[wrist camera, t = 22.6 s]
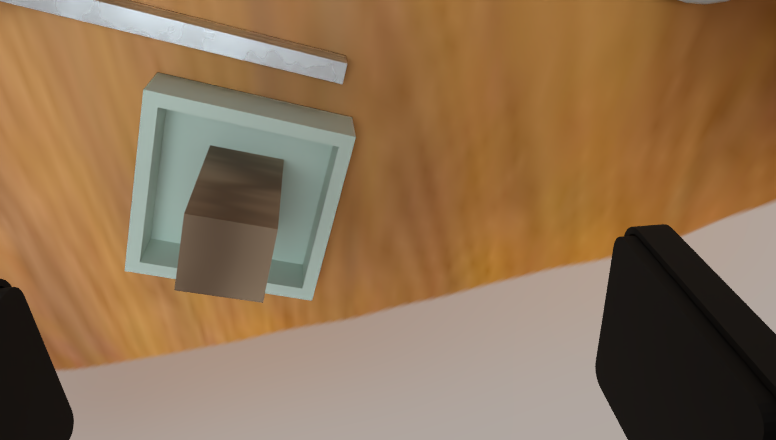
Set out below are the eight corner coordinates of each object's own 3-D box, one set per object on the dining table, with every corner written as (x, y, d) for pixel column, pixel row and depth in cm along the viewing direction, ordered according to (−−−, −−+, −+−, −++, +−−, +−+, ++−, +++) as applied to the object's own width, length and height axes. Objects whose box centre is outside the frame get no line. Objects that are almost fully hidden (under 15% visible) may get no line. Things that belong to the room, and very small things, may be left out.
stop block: (284, 159, 38) (277, 229, 30) (271, 221, 40) (262, 302, 32) (210, 145, 37) (183, 213, 29) (201, 209, 39) (174, 290, 31)
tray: (352, 117, 38) (355, 137, 35) (311, 271, 43) (311, 300, 40) (157, 72, 35) (143, 89, 32) (138, 241, 40) (124, 270, 37)
